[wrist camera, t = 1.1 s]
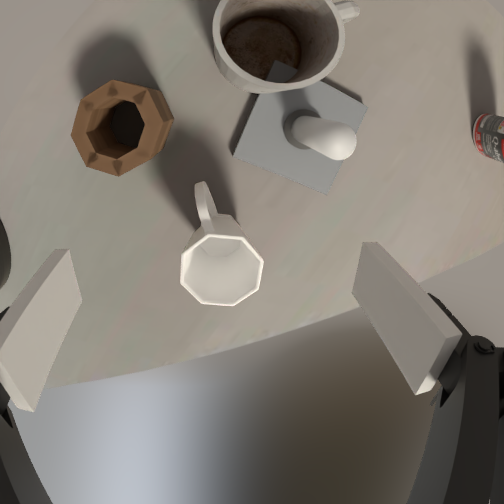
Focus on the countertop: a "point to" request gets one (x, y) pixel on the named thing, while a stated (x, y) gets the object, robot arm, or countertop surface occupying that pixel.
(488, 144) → the pill bottle
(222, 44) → the mug
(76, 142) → the collar
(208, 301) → the cup
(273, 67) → the peg stand with ring
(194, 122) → the countertop surface
